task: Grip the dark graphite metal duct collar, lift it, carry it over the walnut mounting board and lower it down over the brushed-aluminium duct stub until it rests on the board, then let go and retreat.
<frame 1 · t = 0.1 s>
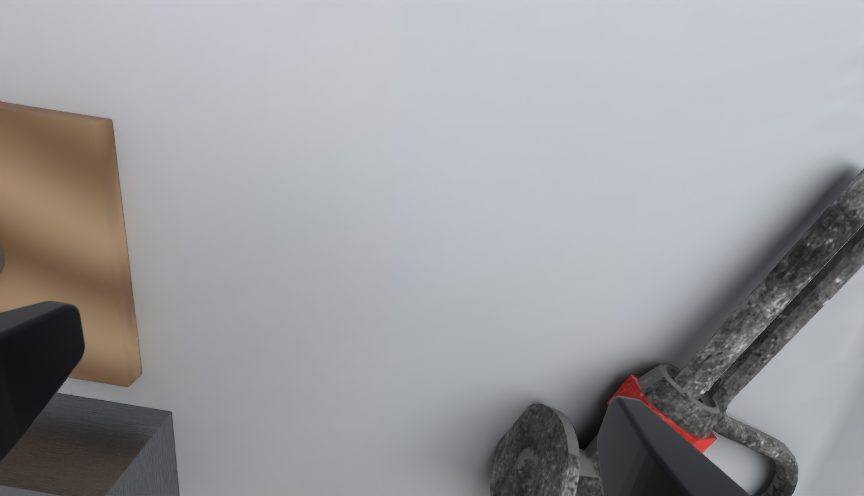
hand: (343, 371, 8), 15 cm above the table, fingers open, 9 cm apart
duct collar: (119, 447, 30), on the table
valve: (697, 396, 26), on the table
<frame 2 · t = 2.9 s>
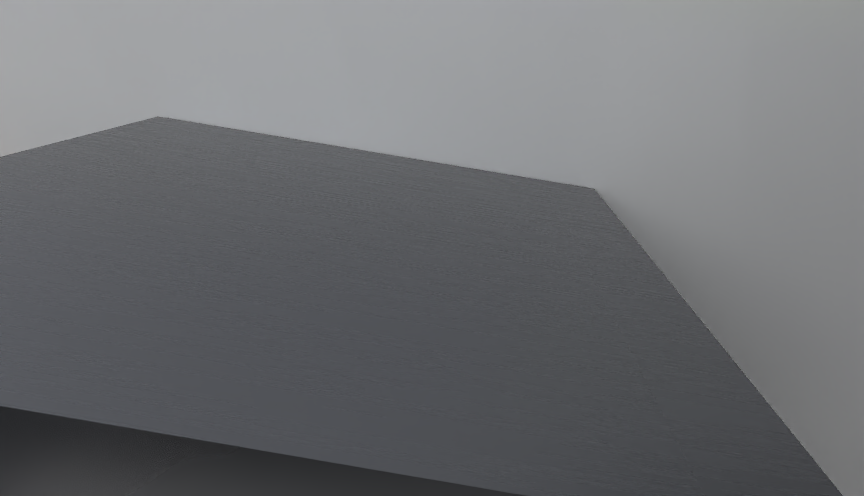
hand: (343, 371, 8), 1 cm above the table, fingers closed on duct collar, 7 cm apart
duct collar: (356, 336, 9), on the table, touching gripper
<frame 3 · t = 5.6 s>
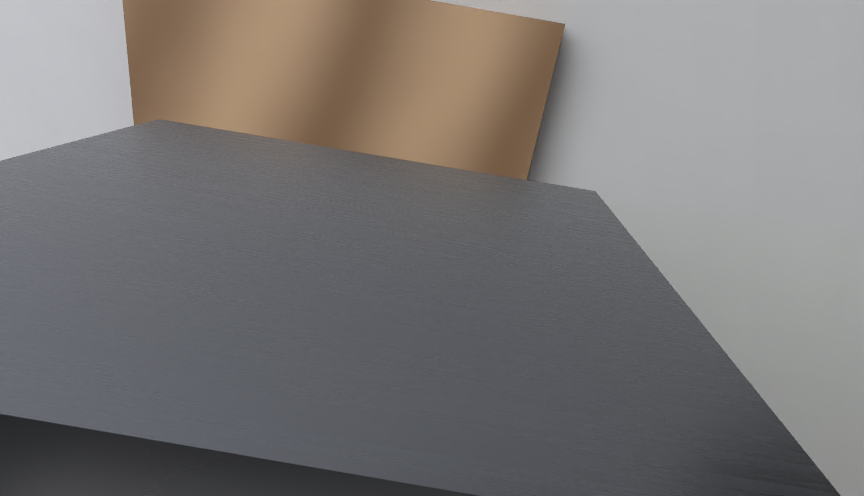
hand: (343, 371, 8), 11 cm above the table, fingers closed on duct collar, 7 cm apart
duct collar: (357, 338, 9), point 10 cm above the table, touching gripper
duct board: (333, 189, 19), on the table
when the fingers open (3 cm above the table, at t = 8.2 s): duct collar stays where it is, resting on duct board.
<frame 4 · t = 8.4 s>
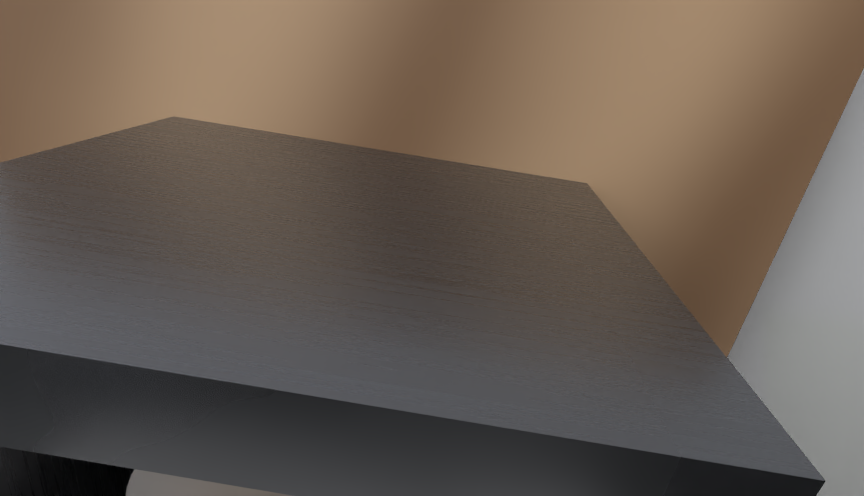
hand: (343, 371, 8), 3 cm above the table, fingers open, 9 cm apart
duct collar: (361, 326, 10), point 1 cm above the table, touching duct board
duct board: (370, 294, 11), on the table
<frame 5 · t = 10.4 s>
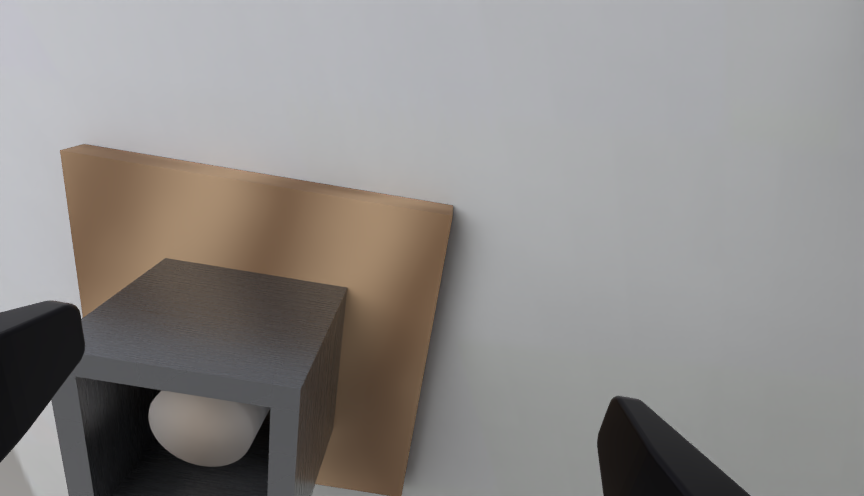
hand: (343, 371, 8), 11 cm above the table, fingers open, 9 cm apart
duct collar: (255, 349, 20), point 1 cm above the table, touching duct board
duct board: (264, 332, 21), on the table
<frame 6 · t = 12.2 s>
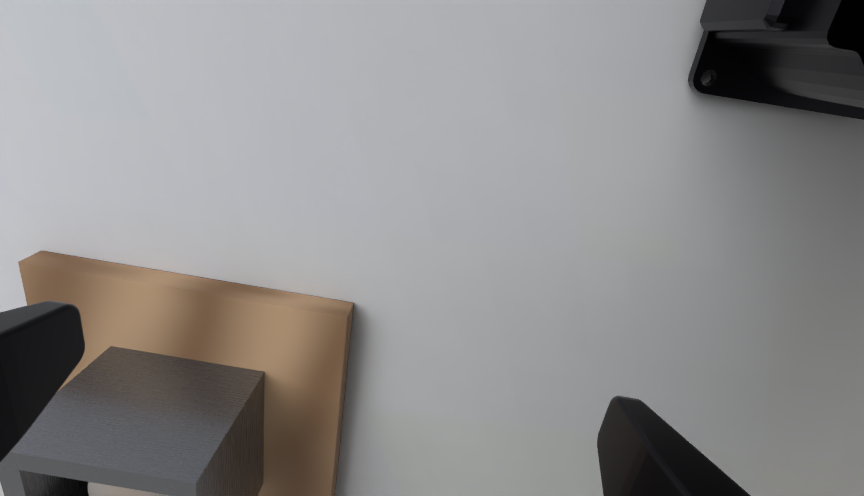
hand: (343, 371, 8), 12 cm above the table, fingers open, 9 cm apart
duct collar: (191, 418, 23), point 1 cm above the table, touching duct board
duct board: (203, 400, 24), on the table
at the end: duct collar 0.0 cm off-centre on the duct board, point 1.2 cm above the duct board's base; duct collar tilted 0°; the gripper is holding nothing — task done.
